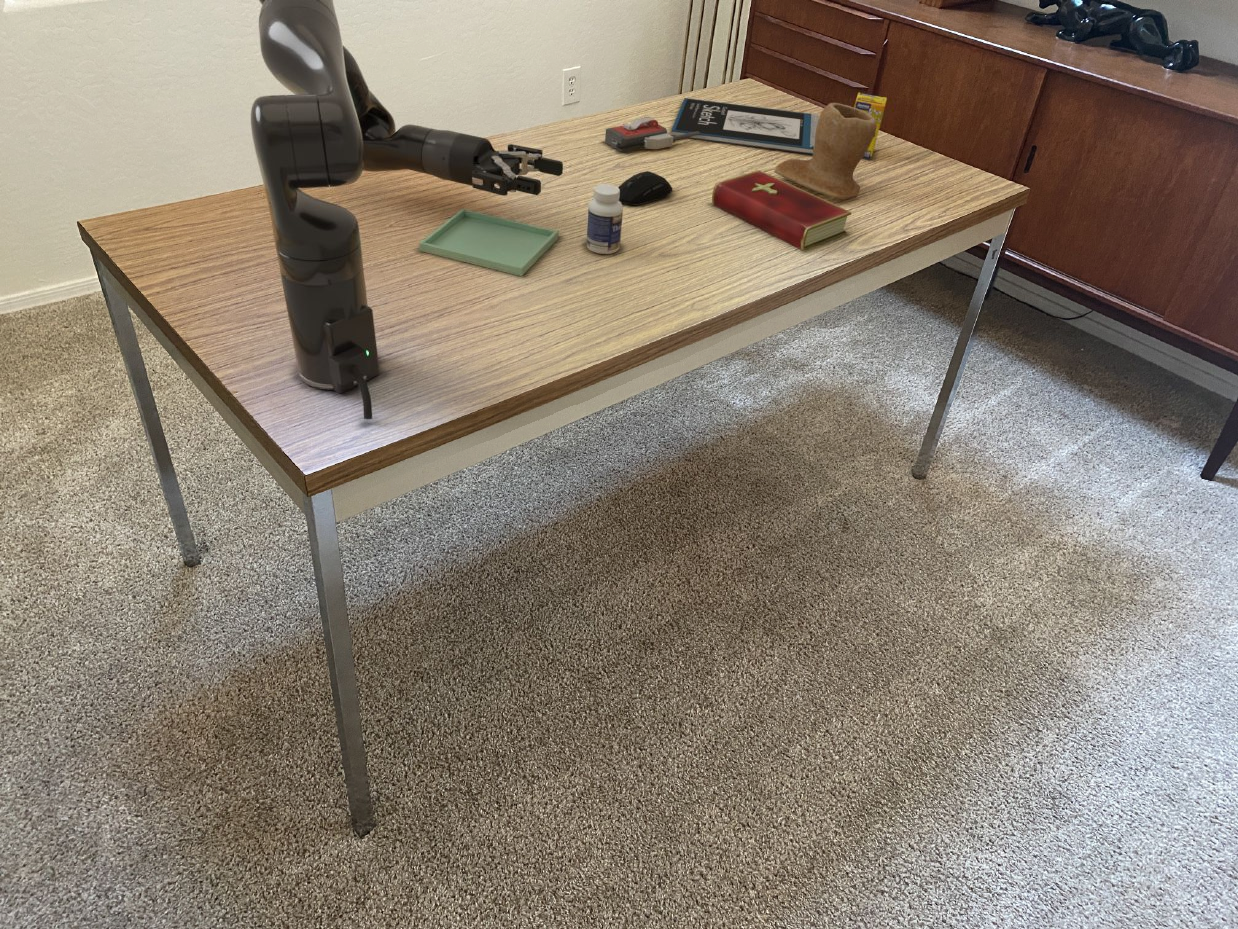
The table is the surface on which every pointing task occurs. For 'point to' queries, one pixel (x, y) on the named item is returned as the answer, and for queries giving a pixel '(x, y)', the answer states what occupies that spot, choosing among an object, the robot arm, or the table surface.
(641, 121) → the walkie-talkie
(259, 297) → the table surface
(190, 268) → the table surface
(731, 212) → the hardcover book
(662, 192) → the gaming mouse
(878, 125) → the supplement box
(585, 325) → the table surface
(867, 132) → the brown boot
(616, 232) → the pill bottle
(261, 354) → the table surface
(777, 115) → the sketchbook
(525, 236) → the tray
